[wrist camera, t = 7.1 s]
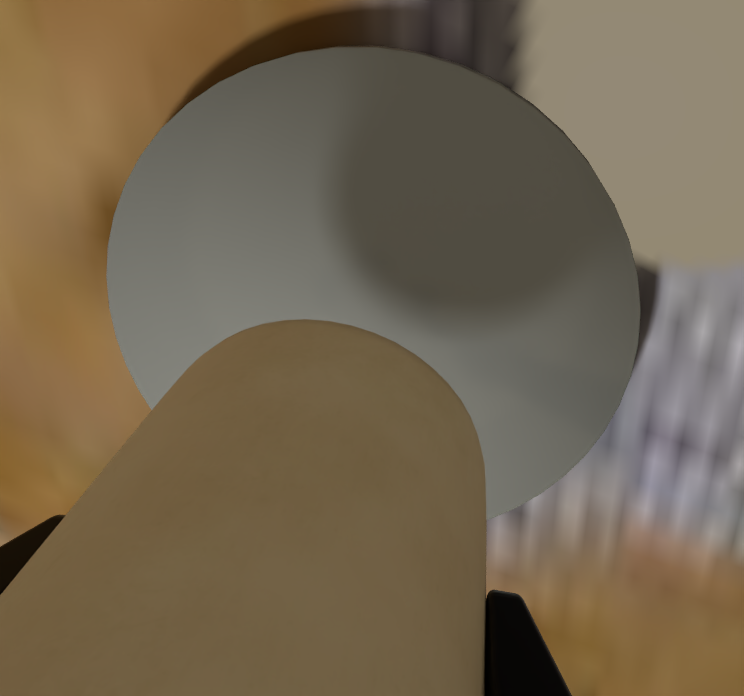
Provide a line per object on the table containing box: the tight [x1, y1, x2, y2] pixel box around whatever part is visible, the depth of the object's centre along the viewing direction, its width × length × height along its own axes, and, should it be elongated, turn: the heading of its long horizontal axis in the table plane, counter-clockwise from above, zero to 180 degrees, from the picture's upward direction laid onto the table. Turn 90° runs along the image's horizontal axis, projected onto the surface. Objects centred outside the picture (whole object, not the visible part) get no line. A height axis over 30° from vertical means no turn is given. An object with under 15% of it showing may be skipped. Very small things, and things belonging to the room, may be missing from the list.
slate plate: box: [107, 46, 641, 520], centre depth 15 cm, size 12×12×1 cm
